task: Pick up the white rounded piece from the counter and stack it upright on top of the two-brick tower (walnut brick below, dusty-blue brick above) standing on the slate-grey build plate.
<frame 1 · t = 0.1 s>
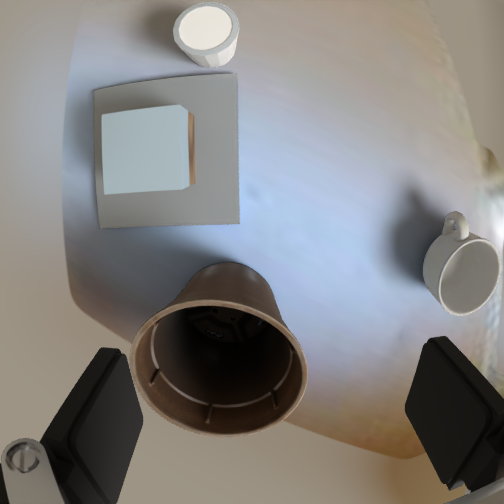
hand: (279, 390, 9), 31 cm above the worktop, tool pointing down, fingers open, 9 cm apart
brick1: (161, 151, 35), point 1 cm above the worktop, touching brick, plate
white rounded piece: (212, 48, 33), on the worktop
teacup: (442, 249, 41), on the worktop
plate: (164, 151, 36), on the worktop
plant pot: (226, 303, 42), on the worktop
brick: (151, 150, 32), point 5 cm above the worktop, touching brick1
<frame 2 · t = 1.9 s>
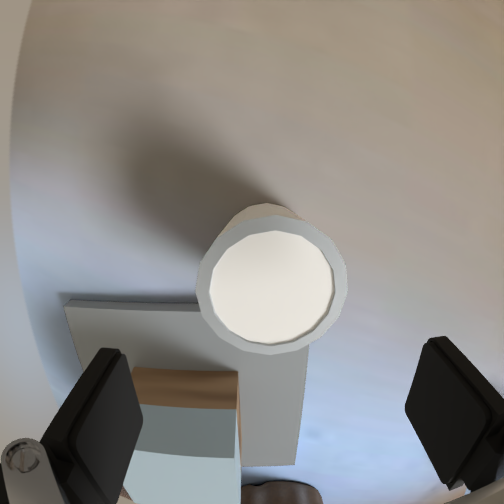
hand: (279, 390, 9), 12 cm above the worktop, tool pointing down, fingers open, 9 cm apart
brick1: (190, 406, 23), point 1 cm above the worktop, touching brick, plate
white rounded piece: (265, 245, 21), on the worktop
plate: (192, 397, 25), on the worktop
plant pot: (270, 499, 31), on the worktop
brick: (183, 443, 20), point 5 cm above the worktop, touching brick1
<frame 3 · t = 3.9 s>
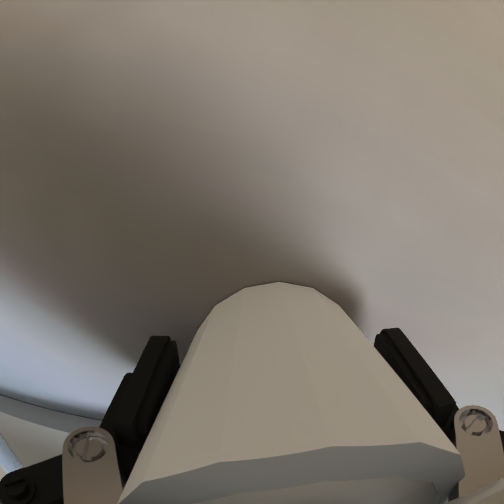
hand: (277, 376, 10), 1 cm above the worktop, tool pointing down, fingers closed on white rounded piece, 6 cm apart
white rounded piece: (274, 353, 11), on the worktop, touching gripper
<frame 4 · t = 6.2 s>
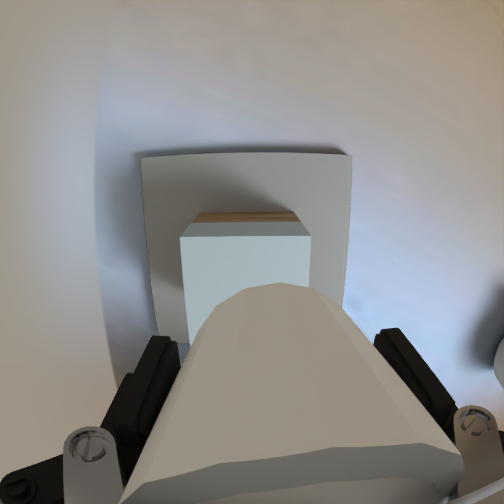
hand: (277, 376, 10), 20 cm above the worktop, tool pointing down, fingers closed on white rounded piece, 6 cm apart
brick1: (247, 257, 28), point 1 cm above the worktop, touching brick, plate
white rounded piece: (275, 354, 11), point 19 cm above the worktop, touching gripper
plate: (247, 253, 29), on the worktop
brick: (246, 274, 24), point 5 cm above the worktop, touching brick1
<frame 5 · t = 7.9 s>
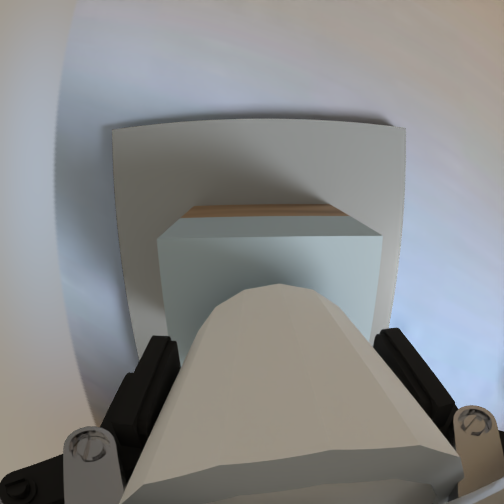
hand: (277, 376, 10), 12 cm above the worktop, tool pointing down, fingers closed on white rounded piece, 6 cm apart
brick1: (262, 269, 20), point 1 cm above the worktop, touching brick, plate
white rounded piece: (275, 355, 11), point 10 cm above the worktop, touching gripper
plate: (262, 263, 21), on the worktop
brick: (266, 296, 16), point 5 cm above the worktop, touching brick1
when the fingers open (12 cm above the worktop, at t = 8.9 s): white rounded piece stays where it is, resting on brick.
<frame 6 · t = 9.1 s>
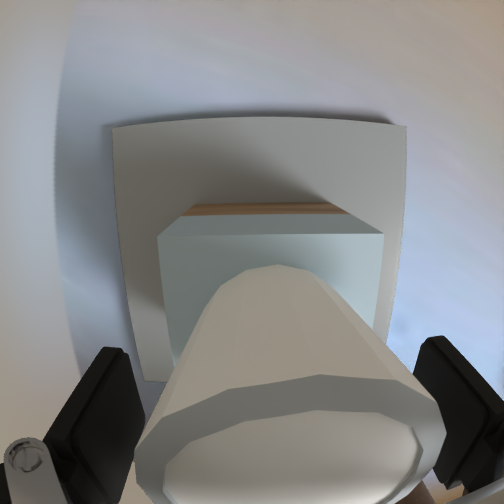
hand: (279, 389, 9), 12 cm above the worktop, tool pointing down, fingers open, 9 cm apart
brick1: (263, 268, 20), point 1 cm above the worktop, touching brick, plate
white rounded piece: (274, 332, 12), point 9 cm above the worktop, touching brick
plate: (262, 262, 21), on the worktop
plant pot: (332, 450, 27), on the worktop
brick: (267, 295, 16), point 5 cm above the worktop, touching brick1, white rounded piece
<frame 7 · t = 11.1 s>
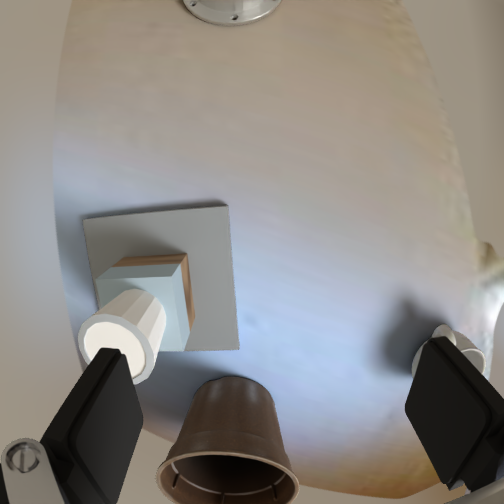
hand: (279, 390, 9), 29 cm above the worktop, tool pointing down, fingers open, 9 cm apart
brick1: (159, 287, 37), point 1 cm above the worktop, touching brick, plate
white rounded piece: (139, 314, 30), point 9 cm above the worktop, touching brick
teacup: (432, 344, 42), on the worktop
plate: (161, 283, 39), on the worktop
plant pot: (231, 405, 44), on the worktop
brick: (149, 300, 34), point 5 cm above the worktop, touching brick1, white rounded piece
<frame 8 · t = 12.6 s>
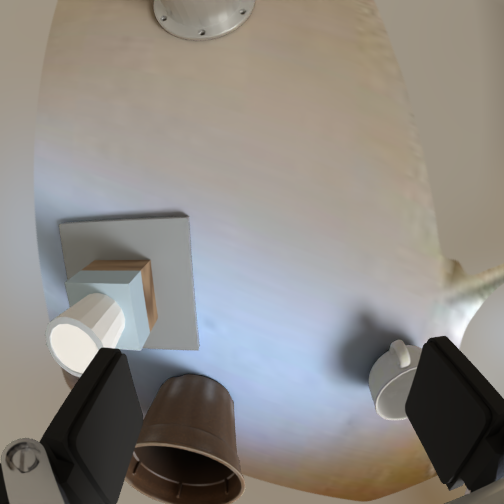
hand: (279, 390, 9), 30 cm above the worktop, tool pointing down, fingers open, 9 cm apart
brick1: (125, 289, 39), point 1 cm above the worktop, touching brick, plate
white rounded piece: (102, 315, 32), point 9 cm above the worktop, touching brick
teacup: (392, 356, 45), on the worktop
plate: (128, 285, 40), on the worktop
plant pot: (194, 400, 46), on the worktop
brick: (114, 302, 35), point 5 cm above the worktop, touching brick1, white rounded piece
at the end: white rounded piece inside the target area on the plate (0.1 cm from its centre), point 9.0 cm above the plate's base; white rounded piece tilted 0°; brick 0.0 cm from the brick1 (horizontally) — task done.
